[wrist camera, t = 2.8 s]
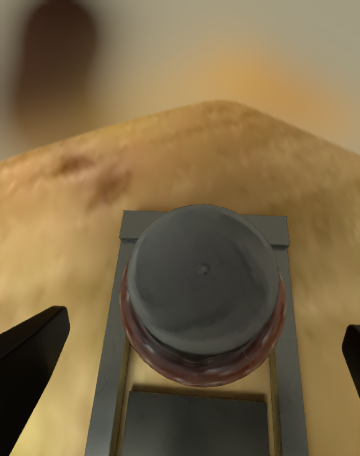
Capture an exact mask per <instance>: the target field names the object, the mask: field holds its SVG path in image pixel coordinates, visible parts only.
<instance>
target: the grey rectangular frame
mask: <svg viewBox="0 0 360 456" xmlns="http://www.w3.org/2000/svg"><path fill="white" fill-rule="evenodd" d="M166 213H168V212H155V211H128V210H124V213H123V218H122V224H121V230H120V236H119V238H120V239H121V244H120V250H119V255H118V261H117V267H116V273H115V279H114V285H113V291H112V296H111V302H110V308H109V314H108V320H107V326H106V332H105V338H104V343H103V349H102V355H101V361H100V367H99V373H98V379H97V384H96V390H95V396H94V402H93V408H92V414H91V420H90V425H89V431H88V437H87V443H86V449H85V455H84V456H115V454H116V447H117V439H118V432H119V424H120V416H121V409H122V401H123V394H124V386H125V379H126V371H127V364H128V356H129V349H130V341H129V339H128V337H127V335H126V332H125V330H124V327H123V323H122V320H121V314H120V309H119V292H120V284H121V280H122V275H123V272H124V269H125V266H126V264H127V262H128V260H129V258H130V256H131V253H132V251H133V249H134V246H135V244H136V242H137V240H138V239H139V237H140V236H141V234H142V233H143V232H144V231H145V229H146V228H147V227H149V225H150V224H152V223H153V222H154V221H155V220H156V219H158V218H159V217H161V216H162V215H164V214H166ZM242 216H243V217H245V218H246V219H248V220H249V221H250V222H251V223H253V224H254V225H255V226H256V227H257V228H258V229H259V230H260V231H261V232H262V234H263V235H264V236H265V237H266V239H267V240H268V242H269V243H270V245H271V247H272V249H273V251H274V254H275V256H276V259H277V263H278V267H279V270H280V273H281V276H282V279H283V283H284V287H285V292H286V315H285V321H284V326H283V329H282V333H281V335H280V338H279V340H278V342H277V344H276V345H275V347H274V349H273V350H272V352H271V354H270V355H269V365H270V381H271V397H272V413H273V429H274V445H275V456H309V454H308V444H307V435H306V425H305V416H304V406H303V396H302V387H301V377H300V367H299V358H298V348H297V338H296V329H295V319H294V309H293V300H292V290H291V280H290V271H289V261H288V251H287V247H288V246H289V245H290V244H289V235H288V225H287V216H263V215H242ZM121 456H269V443H268V425H267V407H266V403H265V402H259V401H248V400H236V399H224V398H213V397H201V396H190V395H178V394H166V393H155V392H143V391H129V398H128V406H127V414H126V422H125V430H124V438H123V446H122V453H121Z"/></svg>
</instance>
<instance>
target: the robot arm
mask: <svg viewBox="0 0 360 456" xmlns="http://www.w3.org/2000/svg"><path fill="white" fill-rule="evenodd" d="M69 331H70V323H69V317H68V311H67V308H66V307H65V306H52V307H50V308H48V309H46V310H44V311H42V312H41V313H39V314H37V315H35V316H33V317H31V318H29V319H28V320H26V321H24V322H22V323H20V324H18V325H16V326H15V327H13V328H11V329H9V330H7V331H5V332H3V333H2V334H0V456H9V455H10V453H11V451H12V449H13V448H14V446H15V444H16V442H17V440H18V438H19V436H20V434H21V433H22V431H23V429H24V427H25V425H26V423H27V421H28V419H29V418H30V416H31V414H32V412H33V410H34V408H35V406H36V404H37V403H38V401H39V399H40V397H41V395H42V393H43V391H44V389H45V388H46V386H47V384H48V382H49V380H50V378H51V375H52V373H53V371H54V369H55V366H56V364H57V361H58V359H59V356H60V354H61V352H62V349H63V347H64V344H65V342H66V339H67V337H68V335H69ZM342 352H343V355H344V358H345V360H346V363H347V366H348V368H349V371H350V374H351V377H352V379H353V382H354V385H355V387H356V390H357V393H358V395H359V398H360V325H354V324H351V325H349V326H348V327H347V329H346V333H345V336H344V340H343V343H342Z"/></svg>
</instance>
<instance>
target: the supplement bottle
mask: <svg viewBox="0 0 360 456" xmlns="http://www.w3.org/2000/svg"><path fill="white" fill-rule="evenodd" d="M119 309H120V314H121V320H122V323H123V327H124V330H125V332H126V335H127V337H128V339H129V341H130V343H131V345H132V347H133V348H134V349H135V351H136V352H137V353H138V354H139V356H140V357H141V358H142V360H143V361H144V362H146V363H147V364H148V365H149V366H150V367H151V368H153V369H154V370H155V371H157V372H158V373H160V374H161V375H163V376H164V377H166V378H168V379H170V380H173V381H175V382H178V383H180V384H184V385H187V386H194V387H215V386H222V385H226V384H229V383H232V382H234V381H237V380H239V379H242V378H243V377H245V376H247V375H248V374H250V373H251V372H253V371H254V370H255V369H256V368H258V367H259V366H260V365H261V364H262V363H263V362H264V361H265V360H266V358H267V357H268V356H269V355H270V354H271V352H272V350H273V349H274V347H275V345H276V344H277V342H278V340H279V338H280V335H281V333H282V329H283V326H284V321H285V315H286V292H285V287H284V283H283V279H282V276H281V273H280V270H279V267H278V263H277V259H276V256H275V254H274V251H273V249H272V247H271V245H270V243H269V242H268V240H267V239H266V237H265V236H264V235H263V234H262V232H261V231H260V230H259V229H258V228H257V227H256V226H255V225H254V224H253V223H251V222H250V221H249V220H248V219H246V218H245V217H243V216H242V215H240V214H238V213H236V212H233V211H231V210H229V209H226V208H223V207H218V206H215V205H205V204H203V205H189V206H185V207H181V208H178V209H174V210H172V211H170V212H168V213H166V214H164V215H162V216H161V217H159V218H158V219H156V220H155V221H154V222H153V223H152V224H150V225H149V227H147V228H146V229H145V231H144V232H143V233H142V234H141V236H140V237H139V239H138V240H137V242H136V244H135V246H134V249H133V251H132V253H131V256H130V258H129V260H128V262H127V264H126V266H125V269H124V272H123V275H122V280H121V284H120V292H119Z"/></svg>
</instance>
